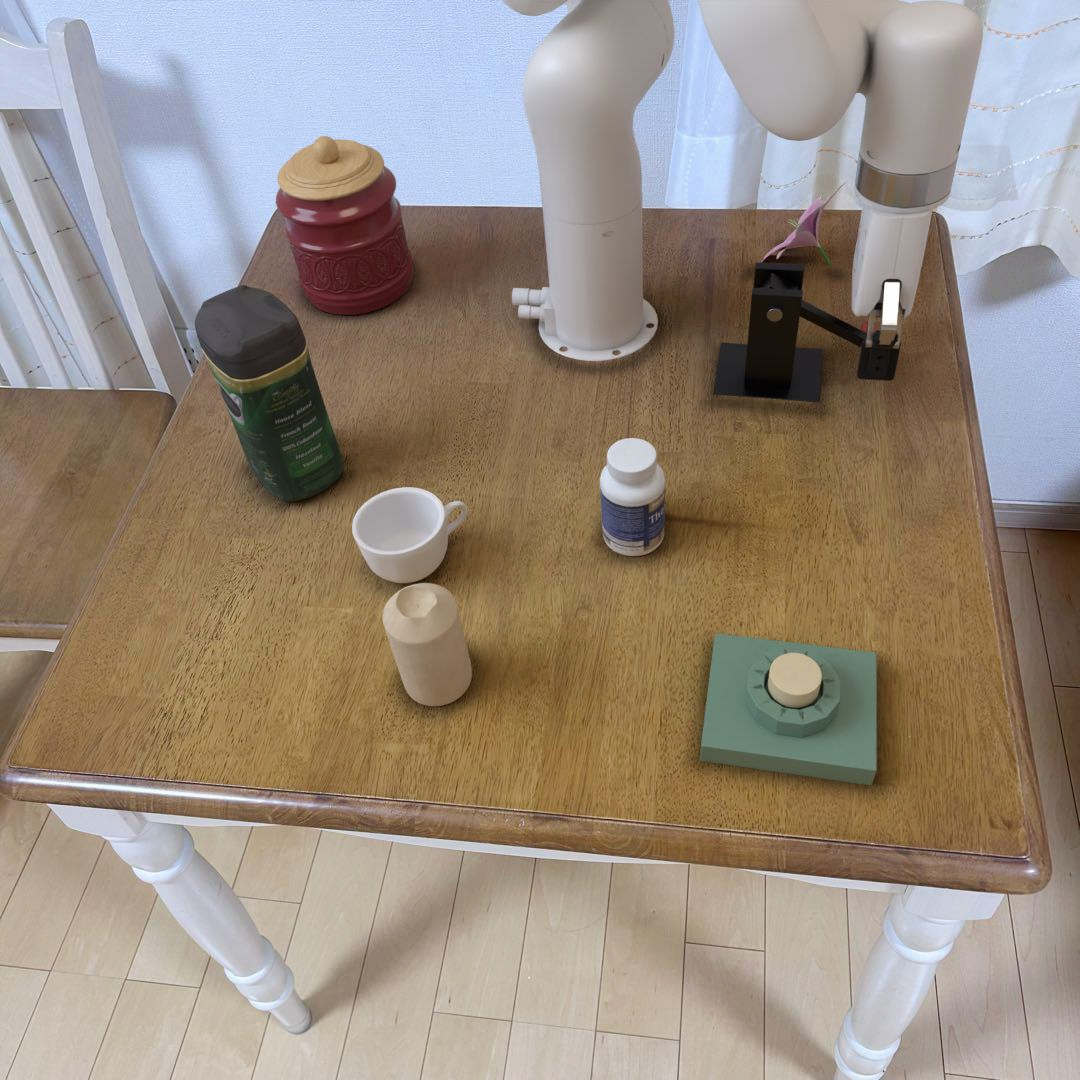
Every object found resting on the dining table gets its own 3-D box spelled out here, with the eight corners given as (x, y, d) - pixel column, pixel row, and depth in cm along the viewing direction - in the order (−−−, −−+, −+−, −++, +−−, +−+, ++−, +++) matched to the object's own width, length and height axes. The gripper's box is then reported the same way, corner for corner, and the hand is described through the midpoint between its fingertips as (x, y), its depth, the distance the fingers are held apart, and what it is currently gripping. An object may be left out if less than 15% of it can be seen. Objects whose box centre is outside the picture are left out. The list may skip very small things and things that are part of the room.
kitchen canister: (390, 323, 112) (355, 175, 99) (285, 311, 115) (237, 166, 102) (431, 256, 120) (403, 111, 107) (331, 247, 123) (292, 104, 110)
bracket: (820, 358, 102) (836, 256, 94) (818, 411, 97) (834, 308, 88) (720, 351, 104) (726, 251, 96) (712, 403, 99) (718, 302, 90)
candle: (483, 657, 82) (465, 578, 74) (457, 714, 78) (436, 638, 71) (420, 642, 83) (397, 563, 76) (392, 697, 80) (365, 621, 72)
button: (766, 704, 72) (768, 691, 71) (769, 663, 75) (771, 649, 73) (818, 711, 72) (821, 698, 70) (819, 669, 74) (822, 655, 73)
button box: (699, 761, 74) (701, 732, 71) (713, 649, 80) (716, 618, 77) (871, 786, 72) (881, 757, 69) (872, 668, 78) (880, 637, 75)
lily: (831, 236, 118) (797, 164, 113) (900, 245, 108) (866, 167, 103) (754, 301, 117) (716, 231, 112) (816, 317, 107) (778, 241, 102)
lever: (867, 338, 98) (883, 321, 96) (867, 372, 95) (883, 354, 93) (758, 282, 96) (772, 263, 94) (754, 314, 92) (769, 295, 91)
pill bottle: (660, 561, 87) (661, 481, 79) (598, 555, 88) (593, 475, 80) (668, 515, 90) (669, 434, 83) (608, 509, 91) (604, 429, 84)
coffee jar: (359, 476, 97) (310, 314, 83) (285, 516, 94) (222, 356, 80) (310, 424, 102) (257, 265, 88) (239, 462, 99) (173, 303, 85)
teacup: (385, 610, 86) (372, 569, 82) (352, 551, 90) (338, 510, 86) (491, 560, 88) (483, 518, 84) (453, 506, 93) (444, 464, 89)
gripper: (857, 121, 89) (835, 288, 101) (855, 230, 78) (830, 403, 90) (948, 121, 87) (915, 291, 100) (959, 233, 76) (920, 408, 89)
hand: (875, 344), depth 95 cm, fingers open, 9 cm apart
